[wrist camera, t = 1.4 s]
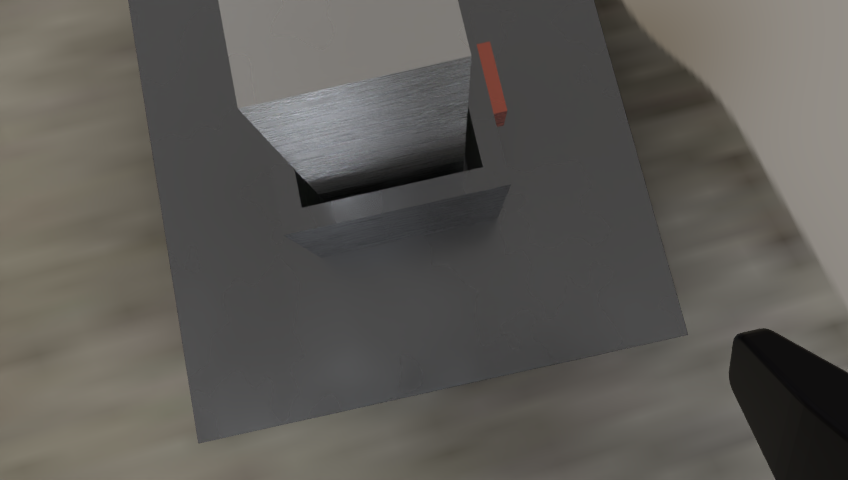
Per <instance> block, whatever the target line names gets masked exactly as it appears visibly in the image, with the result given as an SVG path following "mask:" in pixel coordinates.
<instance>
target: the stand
mask: <svg viewBox="0 0 848 480" xmlns="http://www.w3.org/2000/svg"><path fill="white" fill-rule="evenodd" d="M128 2H129V8H130V14H131V21H132V27H133V33H134V40H135V46H136V52H137V59H138V65H139V71H140V78H141V84H142V90H143V97H144V103H145V109H146V116H147V122H148V128H149V135H150V141H151V147H152V153H153V160H154V166H155V172H156V179H157V185H158V191H159V198H160V204H161V210H162V217H163V223H164V229H165V236H166V242H167V248H168V255H169V261H170V267H171V274H172V280H173V286H174V293H175V299H176V305H177V312H178V318H179V324H180V331H181V337H182V343H183V350H184V356H185V362H186V369H187V375H188V381H189V387H190V394H191V400H192V406H193V413H194V419H195V425H196V432H197V438H198V443H202V442H207V441H211V440H216V439H220V438H225V437H230V436H234V435H239V434H243V433H248V432H252V431H257V430H261V429H266V428H270V427H275V426H279V425H284V424H288V423H293V422H297V421H302V420H306V419H311V418H315V417H320V416H324V415H329V414H333V413H338V412H342V411H347V410H351V409H356V408H360V407H365V406H369V405H374V404H378V403H383V402H387V401H392V400H396V399H401V398H405V397H410V396H414V395H419V394H423V393H428V392H432V391H437V390H441V389H446V388H450V387H455V386H459V385H464V384H468V383H473V382H477V381H482V380H486V379H491V378H495V377H500V376H504V375H509V374H514V373H518V372H523V371H527V370H532V369H536V368H541V367H545V366H550V365H554V364H559V363H563V362H568V361H572V360H577V359H581V358H586V357H590V356H595V355H599V354H604V353H608V352H613V351H617V350H622V349H626V348H631V347H635V346H640V345H644V344H649V343H653V342H658V341H662V340H667V339H671V338H676V337H680V336H685V335H688V333H687V329H686V326H685V322H684V319H683V315H682V311H681V308H680V304H679V301H678V297H677V294H676V290H675V287H674V283H673V280H672V276H671V272H670V269H669V265H668V262H667V258H666V255H665V251H664V248H663V244H662V241H661V237H660V233H659V230H658V226H657V223H656V219H655V216H654V212H653V209H652V205H651V202H650V198H649V194H648V191H647V187H646V184H645V180H644V177H643V173H642V170H641V166H640V162H639V159H638V155H637V152H636V148H635V145H634V141H633V138H632V134H631V131H630V127H629V123H628V120H627V116H626V113H625V109H624V106H623V102H622V99H621V95H620V92H619V88H618V84H617V81H616V77H615V74H614V70H613V67H612V63H611V60H610V56H609V53H608V49H607V45H606V42H605V38H604V35H603V31H602V28H601V24H600V21H599V17H598V13H597V10H596V6H595V3H594V0H458V3H459V7H460V11H461V15H462V19H463V23H464V27H465V31H466V36H467V40H468V44H469V48H470V52H471V69H470V83H469V97H468V111H467V126H466V140H465V154H464V168H463V172H459V173H455V174H450V175H446V176H442V177H437V178H433V179H428V180H424V181H419V182H415V183H410V184H406V185H402V186H397V187H393V188H388V189H384V190H379V191H375V192H370V193H366V194H361V195H357V196H353V197H348V198H344V199H339V200H335V201H330V202H325V201H324V200H323V199H322V198H321V197H320V196H319V195H318V194H317V193H316V191H315V190H314V189H313V188H312V187H311V186H310V185H309V184H308V183H307V182H306V181H305V180H304V179H303V178H302V177H301V175H300V174H299V173H298V172H297V171H296V170H295V169H294V168H293V167H292V166H291V165H290V164H289V163H288V162H287V161H286V159H285V158H284V157H283V156H282V155H281V154H280V153H279V152H278V151H277V150H276V149H275V148H274V147H273V146H272V145H271V143H270V142H269V141H268V140H267V139H266V138H265V137H264V136H263V135H262V134H261V133H260V132H259V131H258V130H257V129H256V127H255V126H254V125H253V124H252V123H251V122H250V121H249V120H248V119H247V118H246V117H245V116H244V115H243V114H242V113H241V111H240V110H239V109H238V107H237V101H236V96H235V90H234V85H233V79H232V74H231V68H230V63H229V57H228V52H227V46H226V41H225V35H224V30H223V24H222V19H221V13H220V8H219V2H218V0H128Z"/></svg>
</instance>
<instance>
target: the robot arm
mask: <svg viewBox="0 0 848 480" xmlns="http://www.w3.org/2000/svg"><path fill="white" fill-rule="evenodd" d="M729 380H730V385H731V388H732V390H733V393H734V395H735V397H736V399H737V401H738V403H739V405H740V407H741V409H742V411H743V413H744V415H745V417H746V419H747V422H748V424H749V426H750V428H751V430H752V432H753V434H754V436H755V438H756V440H757V442H758V444H759V446H760V449H761V451H762V453H763V455H764V457H765V459H766V461H767V463H768V465H769V467H770V469H771V471H772V473H773V475H774V477H775V479H776V480H848V372H846V371H844V370H842V369H840V368H839V367H837V366H835V365H833V364H831V363H830V362H828V361H826V360H824V359H822V358H821V357H819V356H817V355H815V354H813V353H812V352H810V351H808V350H806V349H804V348H803V347H801V346H799V345H797V344H795V343H794V342H792V341H790V340H788V339H786V338H785V337H783V336H781V335H779V334H777V333H776V332H774V331H772V330H769V329H764V328H763V329H756V330H752V331H748V332H743V333H740V334H737V335H736V337H735V338H734V341H733V346H732V354H731V361H730V368H729Z"/></svg>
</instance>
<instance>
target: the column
mask: <svg viewBox="0 0 848 480" xmlns="http://www.w3.org/2000/svg"><path fill="white" fill-rule="evenodd" d="M218 2H219V8H220V13H221V19H222V24H223V30H224V35H225V41H226V46H227V52H228V57H229V63H230V68H231V74H232V79H233V85H234V90H235V96H236V101H237V107H238V109H239V110H240V111H241V113H242V114H243V115H244V116H245V117H246V118H247V119H248V120H249V121H250V122H251V123H252V124H253V125H254V126H255V127H256V129H257V130H258V131H259V132H260V133H261V134H262V135H263V136H264V137H265V138H266V139H267V140H268V141H269V142H270V143H271V145H272V146H273V147H274V148H275V149H276V150H277V151H278V152H279V153H280V154H281V155H282V156H283V157H284V158H285V159H286V161H287V162H288V163H289V164H290V165H291V166H292V167H293V168H294V169H295V170H296V171H297V172H298V173H299V174H300V175H301V177H302V178H303V179H304V180H305V181H306V182H307V183H308V184H309V185H310V186H311V187H312V188H313V189H314V190H315V191H316V193H317V194H318V195H319V196H320V197H321V198H322V199H323V200H324V201H325V202H330V201H335V200H339V199H344V198H348V197H353V196H357V195H361V194H366V193H370V192H375V191H379V190H384V189H388V188H393V187H397V186H402V185H406V184H410V183H415V182H419V181H424V180H428V179H433V178H437V177H442V176H446V175H450V174H455V173H459V172H463V168H464V154H465V140H466V126H467V111H468V97H469V83H470V69H471V52H470V48H469V44H468V40H467V36H466V31H465V27H464V23H463V19H462V15H461V11H460V7H459V3H458V0H218Z"/></svg>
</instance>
